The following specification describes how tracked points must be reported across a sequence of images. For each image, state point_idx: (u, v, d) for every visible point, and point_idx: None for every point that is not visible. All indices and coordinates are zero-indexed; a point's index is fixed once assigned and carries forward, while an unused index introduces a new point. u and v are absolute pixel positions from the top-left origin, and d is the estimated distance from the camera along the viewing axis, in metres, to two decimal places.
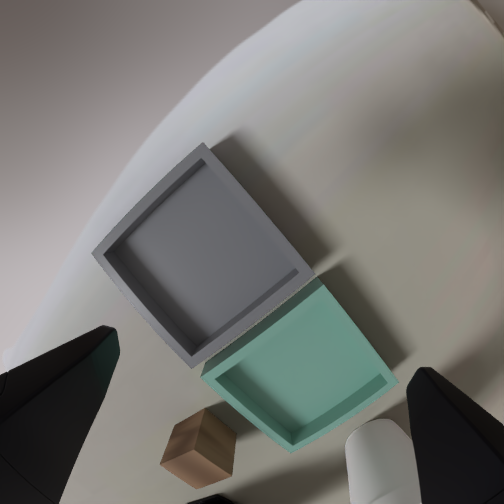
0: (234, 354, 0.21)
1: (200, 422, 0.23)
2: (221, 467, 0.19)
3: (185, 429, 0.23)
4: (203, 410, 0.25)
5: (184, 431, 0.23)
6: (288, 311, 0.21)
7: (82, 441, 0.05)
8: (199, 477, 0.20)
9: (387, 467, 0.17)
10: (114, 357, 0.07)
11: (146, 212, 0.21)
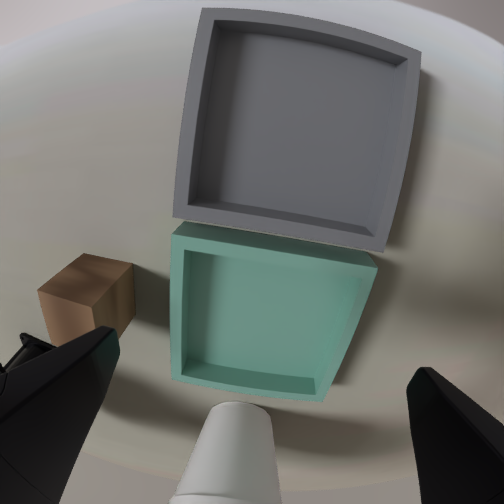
0: (234, 245, 0.16)
1: (117, 277, 0.18)
2: None
3: (93, 270, 0.18)
4: (129, 265, 0.20)
5: (90, 272, 0.18)
6: (327, 258, 0.16)
7: (82, 441, 0.05)
8: (67, 336, 0.16)
9: (250, 469, 0.17)
10: (114, 357, 0.07)
11: (304, 33, 0.12)
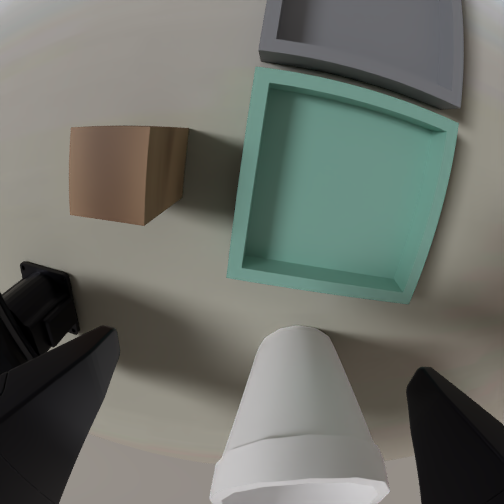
0: (325, 79, 0.13)
1: (175, 127, 0.15)
2: (146, 197, 0.13)
3: None
4: (185, 128, 0.16)
5: None
6: (413, 105, 0.13)
7: (82, 441, 0.05)
8: (97, 192, 0.12)
9: (337, 397, 0.14)
10: (114, 357, 0.07)
11: None
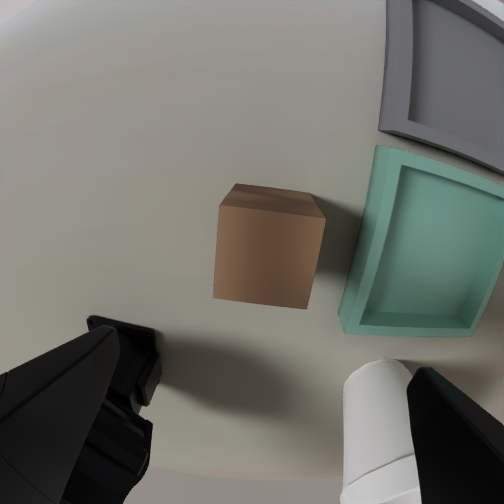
0: (442, 163, 0.14)
1: (311, 199, 0.16)
2: None
3: (273, 193, 0.16)
4: (307, 193, 0.17)
5: (272, 195, 0.15)
6: (495, 183, 0.14)
7: (82, 441, 0.05)
8: (254, 277, 0.13)
9: None
10: (114, 357, 0.07)
11: (463, 9, 0.10)
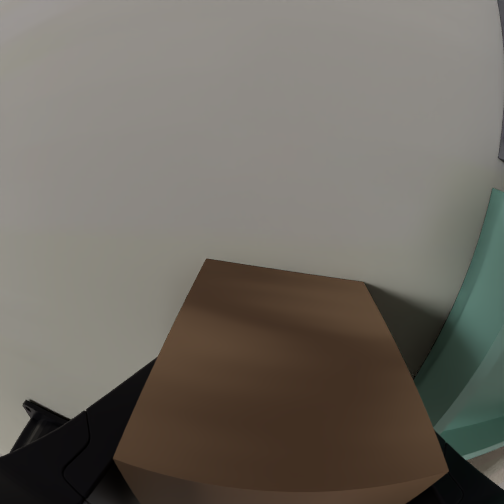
0: None
1: (382, 328, 0.06)
2: None
3: (294, 314, 0.06)
4: (361, 287, 0.08)
5: (292, 323, 0.06)
6: None
7: None
8: None
9: None
10: None
11: None
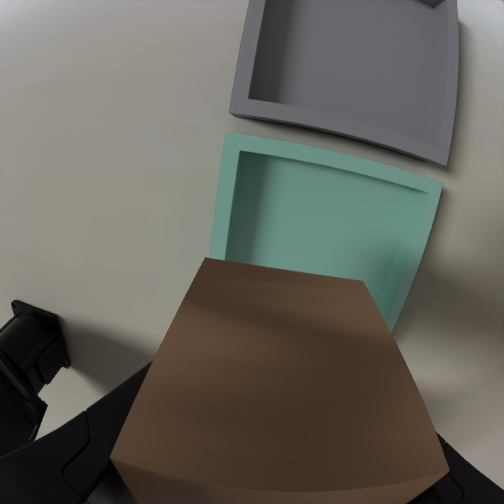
0: (299, 145, 0.13)
1: (382, 326, 0.06)
2: None
3: (293, 312, 0.06)
4: (361, 286, 0.08)
5: (291, 321, 0.06)
6: (395, 167, 0.14)
7: None
8: None
9: None
10: None
11: None
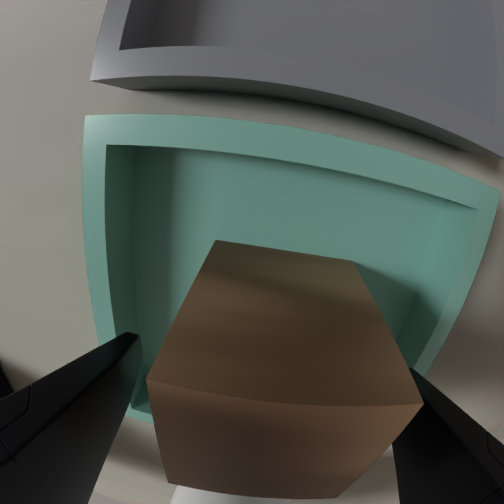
0: (212, 120, 0.06)
1: (366, 294, 0.07)
2: None
3: (290, 280, 0.07)
4: (350, 265, 0.09)
5: (289, 286, 0.07)
6: (419, 159, 0.06)
7: (107, 451, 0.05)
8: (244, 478, 0.05)
9: None
10: (138, 364, 0.07)
11: None
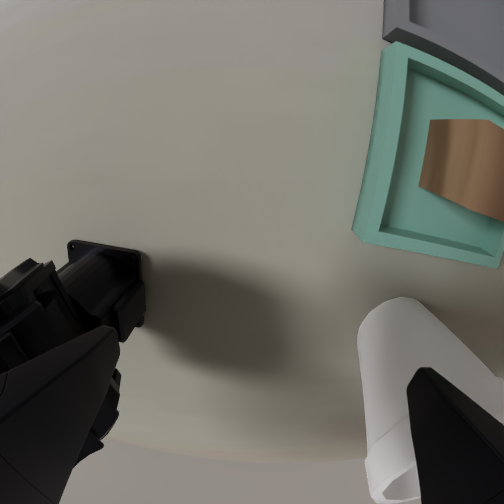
0: (448, 64, 0.11)
1: None
2: None
3: None
4: None
5: None
6: (502, 96, 0.11)
7: (82, 441, 0.05)
8: (501, 193, 0.10)
9: (470, 351, 0.12)
10: (114, 357, 0.07)
11: None
